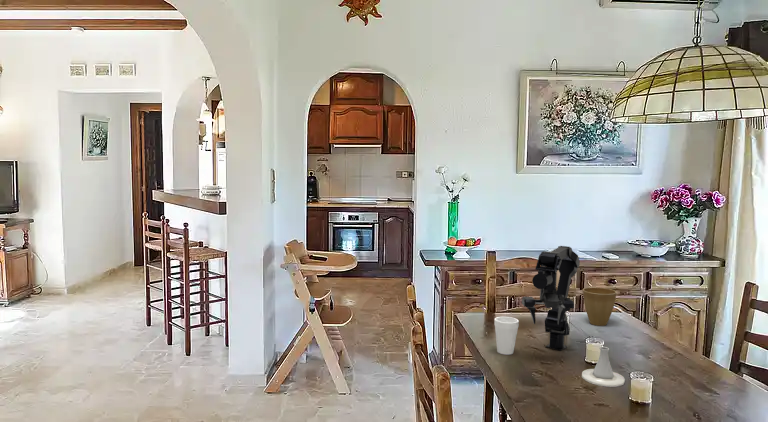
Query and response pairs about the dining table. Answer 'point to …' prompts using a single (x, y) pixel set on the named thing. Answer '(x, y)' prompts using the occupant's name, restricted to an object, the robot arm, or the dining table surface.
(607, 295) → the plant pot
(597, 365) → the flask
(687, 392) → the dining table surface
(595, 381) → the ceramic plate
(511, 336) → the foam cup
